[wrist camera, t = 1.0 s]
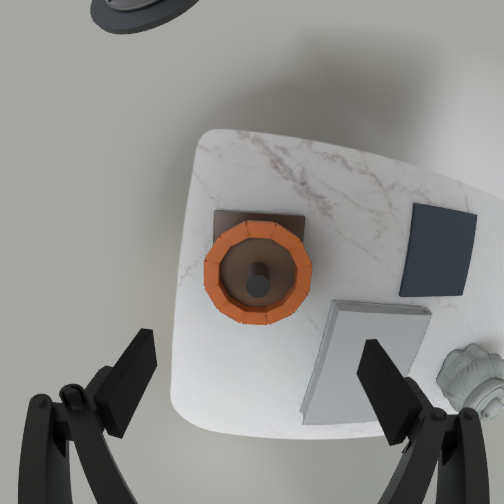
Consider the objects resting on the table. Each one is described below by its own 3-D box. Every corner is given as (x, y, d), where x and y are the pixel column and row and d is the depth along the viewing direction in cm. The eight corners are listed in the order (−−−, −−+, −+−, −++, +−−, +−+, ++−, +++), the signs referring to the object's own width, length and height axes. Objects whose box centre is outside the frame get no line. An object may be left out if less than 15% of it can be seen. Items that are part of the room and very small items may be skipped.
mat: (413, 202, 37) (415, 203, 36) (474, 214, 37) (477, 215, 36) (398, 295, 41) (400, 296, 40) (459, 294, 41) (462, 295, 40)
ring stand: (215, 209, 38) (197, 221, 26) (303, 214, 38) (325, 229, 26) (213, 292, 41) (198, 335, 28) (295, 296, 41) (310, 340, 28)
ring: (207, 218, 30) (204, 220, 28) (313, 224, 30) (316, 226, 28) (206, 315, 33) (204, 321, 31) (302, 320, 33) (304, 326, 31)
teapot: (492, 346, 44) (536, 386, 26) (453, 394, 47) (489, 441, 29) (469, 320, 42) (525, 366, 24) (424, 377, 45) (466, 435, 27)
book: (302, 424, 43) (338, 310, 37) (299, 411, 46) (332, 299, 41) (387, 419, 43) (436, 315, 37) (381, 407, 47) (425, 306, 41)
